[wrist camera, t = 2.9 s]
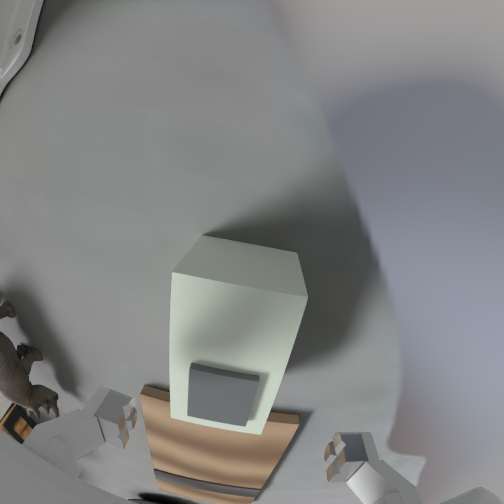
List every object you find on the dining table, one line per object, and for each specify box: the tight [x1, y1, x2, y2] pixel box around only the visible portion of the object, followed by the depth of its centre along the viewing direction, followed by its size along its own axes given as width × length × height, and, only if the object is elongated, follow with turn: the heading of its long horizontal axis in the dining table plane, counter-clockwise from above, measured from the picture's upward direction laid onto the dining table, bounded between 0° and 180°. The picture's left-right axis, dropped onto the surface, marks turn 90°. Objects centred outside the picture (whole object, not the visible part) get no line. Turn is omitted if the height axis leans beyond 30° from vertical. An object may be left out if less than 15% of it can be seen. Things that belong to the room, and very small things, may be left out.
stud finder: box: [170, 235, 308, 435], centre depth 14 cm, size 9×5×5 cm, turn 170°
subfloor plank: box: [140, 385, 299, 504], centre depth 22 cm, size 23×12×1 cm, turn 170°
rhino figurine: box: [0, 302, 59, 420], centre depth 17 cm, size 4×14×6 cm, turn 21°
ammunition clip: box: [0, 403, 36, 444], centre depth 21 cm, size 11×2×12 cm, turn 17°
